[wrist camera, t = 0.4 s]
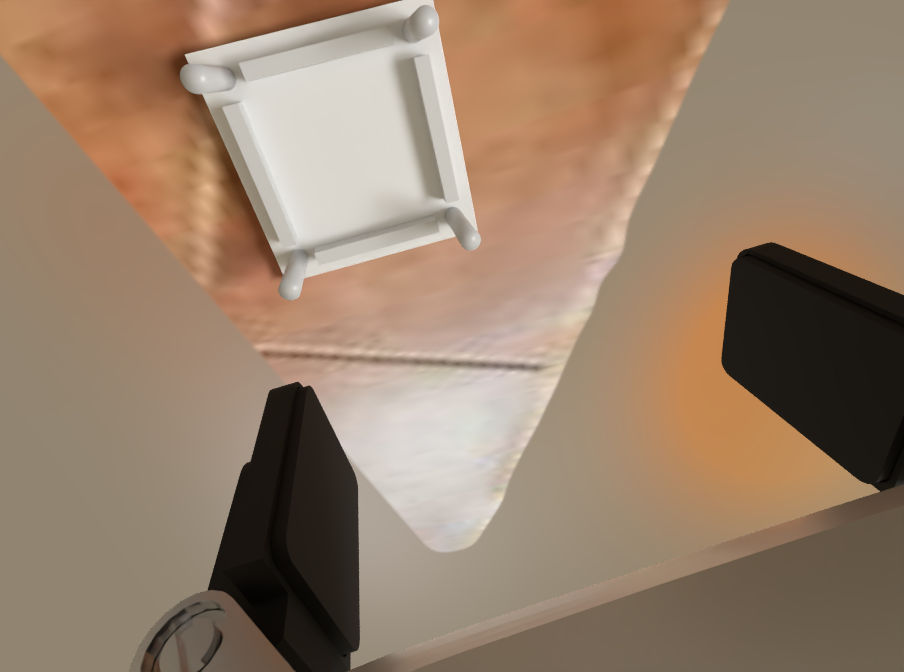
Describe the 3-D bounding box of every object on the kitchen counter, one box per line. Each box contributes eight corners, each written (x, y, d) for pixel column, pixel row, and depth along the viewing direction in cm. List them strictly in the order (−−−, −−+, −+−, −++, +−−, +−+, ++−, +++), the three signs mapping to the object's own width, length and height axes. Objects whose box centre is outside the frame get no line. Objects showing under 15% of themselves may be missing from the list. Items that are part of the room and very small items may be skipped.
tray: (190, 55, 30) (144, 49, 23) (429, -5, 30) (449, -26, 24) (288, 277, 38) (275, 319, 31) (474, 226, 39) (498, 256, 32)
